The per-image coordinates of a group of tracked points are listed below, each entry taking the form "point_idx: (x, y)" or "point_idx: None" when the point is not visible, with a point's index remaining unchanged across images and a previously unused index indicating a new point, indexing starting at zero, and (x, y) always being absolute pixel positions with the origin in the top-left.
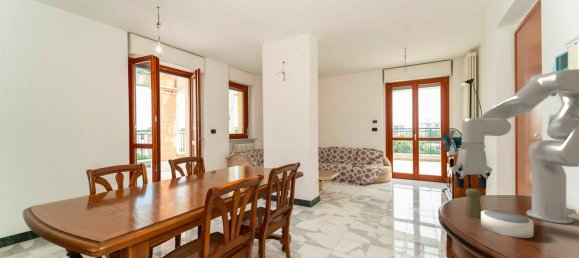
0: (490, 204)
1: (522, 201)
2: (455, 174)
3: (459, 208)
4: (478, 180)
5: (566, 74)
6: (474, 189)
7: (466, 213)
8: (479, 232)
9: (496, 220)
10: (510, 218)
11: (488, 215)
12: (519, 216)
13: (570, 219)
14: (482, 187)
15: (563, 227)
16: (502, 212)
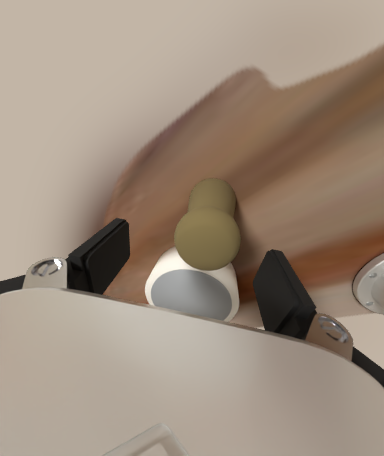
0: None
1: None
2: (4, 292)
3: (238, 127)
4: (286, 284)
5: None
6: (203, 259)
7: (189, 198)
8: (129, 270)
9: (148, 301)
10: (182, 311)
11: (151, 289)
12: (216, 313)
13: None
14: (256, 276)
15: (329, 309)
16: (208, 290)
